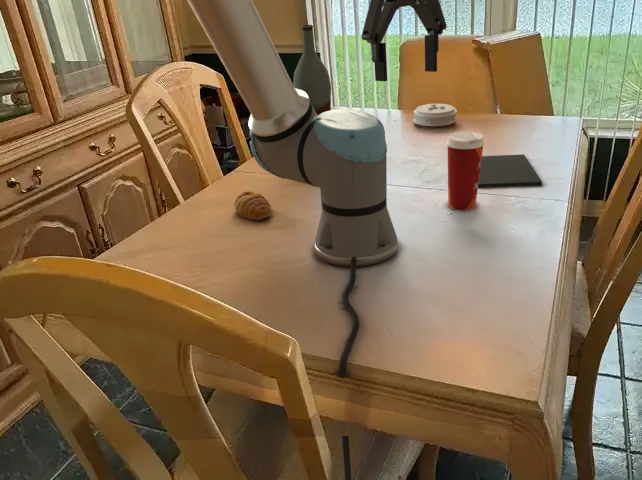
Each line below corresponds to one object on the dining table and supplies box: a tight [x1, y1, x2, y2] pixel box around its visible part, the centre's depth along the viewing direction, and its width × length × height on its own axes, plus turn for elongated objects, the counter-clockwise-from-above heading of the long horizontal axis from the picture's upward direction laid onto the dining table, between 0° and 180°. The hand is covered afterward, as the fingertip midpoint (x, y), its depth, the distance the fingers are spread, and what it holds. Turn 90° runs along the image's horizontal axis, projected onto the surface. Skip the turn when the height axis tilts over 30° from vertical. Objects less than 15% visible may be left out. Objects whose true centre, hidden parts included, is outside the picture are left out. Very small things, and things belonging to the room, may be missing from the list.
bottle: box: [292, 24, 332, 116], centre depth 153 cm, size 9×9×30 cm
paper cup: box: [445, 131, 486, 211], centre depth 126 cm, size 8×8×14 cm
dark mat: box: [478, 153, 543, 189], centre depth 145 cm, size 20×14×1 cm
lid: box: [413, 103, 458, 127], centre depth 180 cm, size 13×13×5 cm
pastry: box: [233, 190, 273, 221], centre depth 130 cm, size 9×7×4 cm
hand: (406, 76), depth 123 cm, fingers open, 13 cm apart
